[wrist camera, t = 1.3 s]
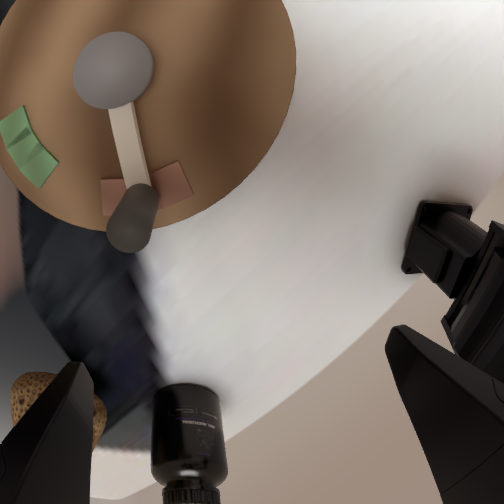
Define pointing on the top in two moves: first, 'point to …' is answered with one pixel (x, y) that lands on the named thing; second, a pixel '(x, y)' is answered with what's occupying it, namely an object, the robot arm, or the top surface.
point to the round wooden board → (143, 102)
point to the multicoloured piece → (122, 127)
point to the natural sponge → (30, 390)
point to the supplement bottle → (188, 445)
